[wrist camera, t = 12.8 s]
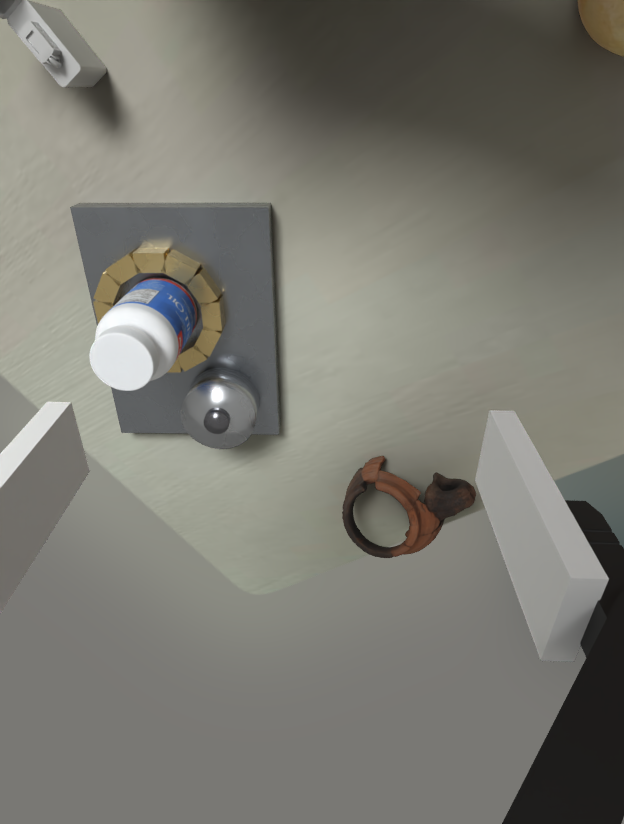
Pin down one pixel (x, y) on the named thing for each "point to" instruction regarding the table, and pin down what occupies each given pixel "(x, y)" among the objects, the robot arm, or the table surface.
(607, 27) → the onion
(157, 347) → the pill bottle
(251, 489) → the table surface
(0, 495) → the robot arm
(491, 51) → the table surface
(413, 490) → the pottery mug
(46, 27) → the lighter
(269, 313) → the carrier plate
